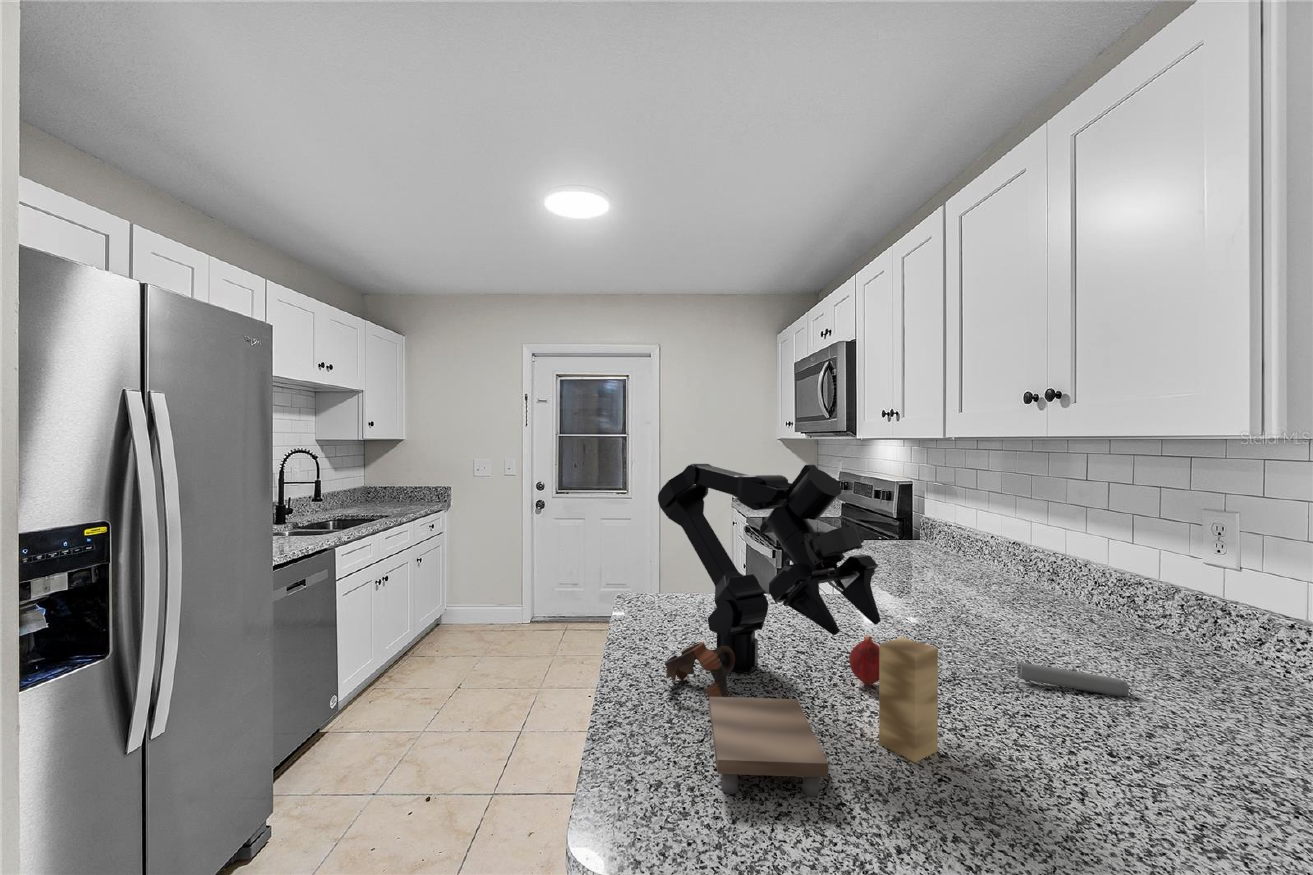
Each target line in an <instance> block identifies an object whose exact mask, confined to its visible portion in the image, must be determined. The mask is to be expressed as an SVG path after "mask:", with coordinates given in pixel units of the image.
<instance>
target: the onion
mask: <svg viewBox="0 0 1313 875" xmlns="http://www.w3.org/2000/svg"><path fill="white" fill-rule="evenodd" d="M848 662H849V666H850V669H851V671H852V673H853V675H854V676H855V678H856V679H858V680H859V681H860V682H861V683H863V685H864V686H866V687H867V686H872V685H873V684H876V683H877V682H878V681H879V645H878V644H876V643H875V642H873V637H872V636H870V635H869V634H867V635H865V637H864V639H863V641H861V642H859V643H857V644H856V645H855V646H854V647H853V648H852V650H851V651H850V654H849V660H848Z"/></svg>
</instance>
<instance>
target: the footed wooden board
mask: <svg viewBox="0 0 1313 875" xmlns="http://www.w3.org/2000/svg"><path fill="white" fill-rule="evenodd" d="M708 699H709V700H708V704H709V705H708V709H709V717H710V724H711V733H712V734H711V735H712V740H713V742H712V743H713V748H714V754H715V755H714V756H715V765H716V772H717V774H719V775H720V774H721V791H722V792H723V793H725V794H728V795H734V794H737V792H739V775H740V776H741V775H744V776H746V775H748V776H769V777H770V776H774V777H776V776H777V777H797V778H798V777H800V778H802V793H803V794H804V795H806V796H807V797H810V798H817V797H818V796H820V781H821V780H820V779H821V778H827V779H828V778H829V762H828V760H827V758H826V755H825V754H824V751H823V750H822V748H821V746H820V743H819V742H818V739H817V737H816V735H815V733H814V730H813V729H812V727H811V724H810V723H809V720H808V719H807V717H806V715H805V712H804V711H803V709H802V706H801V704H800V702H799V700H798V699H797V698H795V699H794V698H771V697H770V698H768V697H767V698H764V697H763V698H761V697H735V696H734V697H733V696H731V697H730V696H723V697H709V696H708Z"/></svg>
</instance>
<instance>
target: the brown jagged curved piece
mask: <svg viewBox="0 0 1313 875" xmlns="http://www.w3.org/2000/svg"><path fill="white" fill-rule="evenodd" d="M680 654H681V655H678V656H677V655H676V654H674V655H673V656H671V657H670V658H668V659H667V660H666V661H665V662H664V665H665V667H666V674H665V678H666V679H670V678H671V680H672V681H673V682H675V681H676V678H678V679H679V681H684V680H685V679H686V678H687V677H688V675H694V674H695V670H694V665H695V661H696V660H697V661H698V663H699V665H700V666H701V668H702V669H703V670H704V671H706V672H710V674H711V676H712V678H713V679H714V682H713V684H711V685H710V686H708V687H707V688H705V692H706V694H707V696H708V698H709V697H726V696H727V695H728V694H729V692H730V691H729V687H728V680H727V679H728V676H729V674H730V673H731V672H733V671H732V669H733V667H734V663H735V656H734V652H733V651H732V650H731V648H729V647H727V646H720V647H718V648H717V647H716V648H715V649H709V648H707V646H706V644H705V642H702V641H701V642H698V643H696V644H694V645H692V646H690V647H688V648H686V649H684V650H682V651H681V653H680ZM722 655H724V656H725V664H724V666H722V662H721V661H720V659H721V656H722Z"/></svg>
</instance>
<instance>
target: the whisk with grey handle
mask: <svg viewBox="0 0 1313 875" xmlns="http://www.w3.org/2000/svg"><path fill="white" fill-rule="evenodd" d="M926 637H927V638H940V639H946V640H951V641H954V642H949V641H943V640H934V639H927V640H921V641H920V640H919V639H922V638H926ZM918 640H919V641H918ZM914 641H916V642H917V641H918V642H919V643H922V644H931V642H932V644H933V645H934V644H935V645H939V646H946V647H951V648H954V649H959V650H962V651H966V652H970V653H973V654H976V655H978V656H979V655H980V656H983V657H985V658H989V659H992V660H995V661H997V662H1001V663H1005V664H1007V665H1010V666H1004V665H1001V664H995V663H990V662H985V661H980V660H977V659H975V660H974V659H969V658H965V657H960V656H959V657H958V656H954V655H949V654H944V653H943V654H942V653H938V656H939V655H940V656H946V657H950V658H954V659H950V658H949V659H948V658H943V657H939V659H941V660H945V661H953V662H958V663H963V664H969V665H970V664H971V665H977V666H983V667H991V668H996V669H1003V670H1009V671H1010V670H1011V671H1016V672H1006V673H1005V672H1003V673H1002V672H1001V673H1000V672H997V673H996V672H992V673H990V672H969V671H958V670H951V669H950V670H948V669H945V668H940V667H938V670H942V671H946V672H953V673H954V672H955V673H963V674H964V675H968V674H970V675H972V676H974V675H975V676H977V675H979V676H987V675H990V676H991V677H990V676H989V677H974V678H973V677H968V679H970V680H978V679H979V680H982V679H983V680H984V679H985V680H986V679H997V678H1007V677H1008V678H1009V677H1015V676H1018V679H1019V680H1023V681H1030V682H1036V683H1041V684H1048V685H1054V686H1059V687H1064V688H1070V689H1074V690H1075V689H1076V690H1080V691H1087V692H1092V693H1098V694H1102V695H1109V696H1114V697H1115V696H1116V697H1121V696H1122V697H1128V696H1129V695H1130V694H1129V693H1130V688H1129V687H1130V686H1129V684H1131V685H1134V686H1136V687H1138V688H1139V689H1140V690H1141V692H1140V693H1138V694H1131V695H1130V696H1133V697H1136V696H1140V695H1142V693H1143V689H1142V687H1141V686H1140V685H1137V684H1135V683H1133V682H1130V681H1125V680H1121V679H1119V678H1117V677H1116V678H1115V677H1110V676H1104V675H1099V674H1092V673H1087V672H1080V671H1075V670H1069V669H1064V668H1063V669H1062V668H1057V667H1051V666H1045V665H1040V664H1034V663H1029V662H1022V661H1018V663H1015V662H1013V661H1011V660H1008V659H1006V658H1005V657H1003V656H1000V655H998V654H995V653H993V652H990V651H988V650H986V649H982V648H980V647H979V646H975V645H972V644H970V643H966V642H964V641H961V640H957V639H953V638H949V637H943V636H937V635H925V636H921V637H920V636H919V637H917V638H916V639H915V640H914ZM937 642H940V643H937ZM941 642H942V643H941ZM955 642H958V643H961V644H964V645H961V644H957V643H955ZM943 643H947V644H943ZM948 644H951V645H948ZM953 645H956V646H960V647H956V646H953ZM966 645H968V646H966ZM969 646H970V647H969ZM961 647H963V648H964V649H963V648H961ZM972 647H974V648H972ZM975 648H976V649H975ZM968 649H970V650H968ZM978 649H979V650H978ZM971 650H973V651H971ZM974 651H977V652H974ZM983 651H984V652H983ZM981 653H982V654H981ZM955 658H957V659H961V660H967V661H972V662H967V661H961V660H956V659H955ZM975 662H977V663H975ZM981 663H982V664H981ZM987 664H988V665H987ZM1011 666H1012V667H1011ZM1014 667H1016V668H1014ZM992 675H993V676H992ZM994 675H995V676H994ZM998 675H999V676H998ZM1000 675H1001V676H1000ZM1003 675H1004V676H1003ZM1128 683H1129V684H1128Z"/></svg>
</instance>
